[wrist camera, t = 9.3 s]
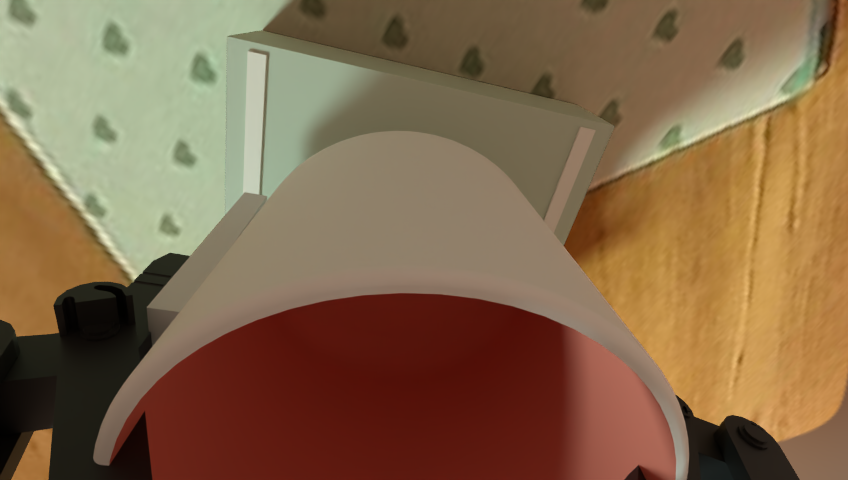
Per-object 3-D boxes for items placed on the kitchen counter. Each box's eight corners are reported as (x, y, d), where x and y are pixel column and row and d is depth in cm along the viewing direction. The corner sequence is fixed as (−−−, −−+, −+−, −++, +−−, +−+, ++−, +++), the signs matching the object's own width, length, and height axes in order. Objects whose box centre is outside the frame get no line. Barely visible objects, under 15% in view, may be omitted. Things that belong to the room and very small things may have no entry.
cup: (206, 240, 16) (-51, 516, 7) (422, 56, 13) (472, 99, 4) (384, 395, 19) (372, 708, 10) (577, 271, 17) (775, 533, 8)
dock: (261, 30, 18) (202, 40, 12) (577, 104, 20) (640, 140, 14) (250, 272, 23) (205, 351, 18) (498, 311, 25) (524, 392, 20)
